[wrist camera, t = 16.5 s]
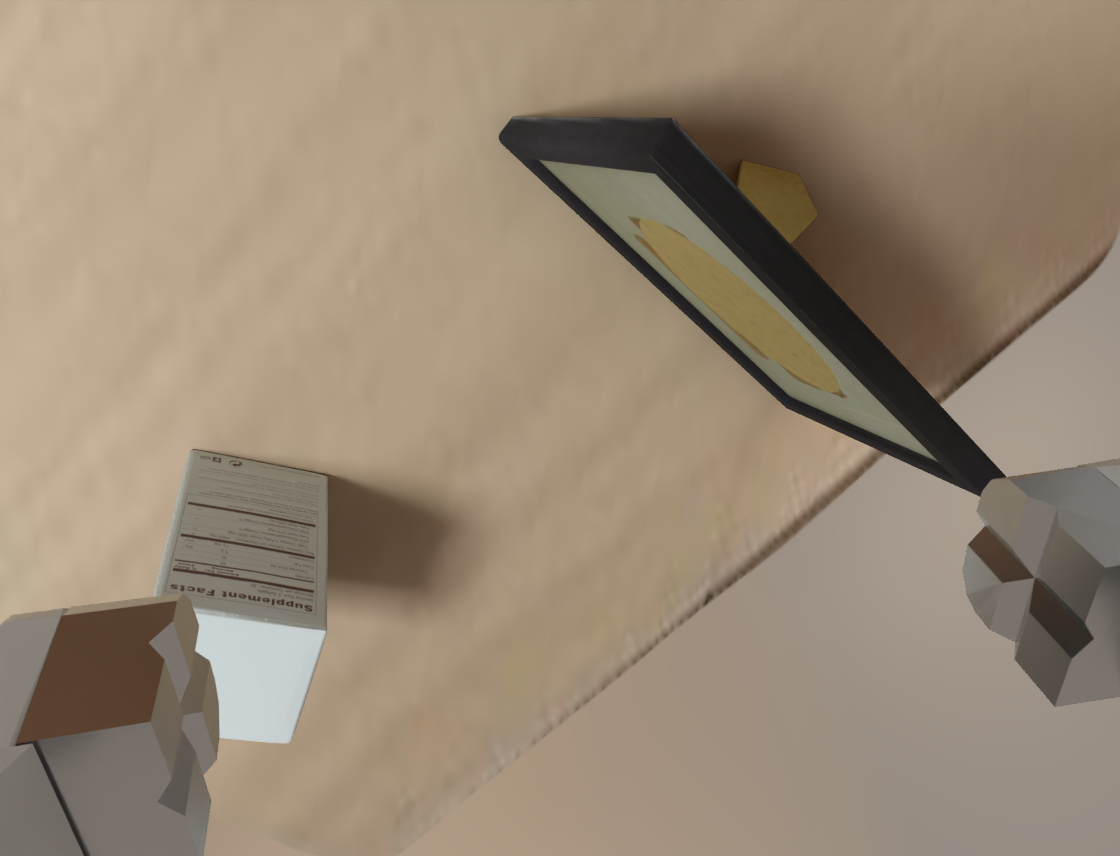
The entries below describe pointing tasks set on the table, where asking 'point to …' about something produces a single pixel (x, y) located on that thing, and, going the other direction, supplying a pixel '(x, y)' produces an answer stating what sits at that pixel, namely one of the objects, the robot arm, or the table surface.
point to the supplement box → (252, 585)
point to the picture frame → (744, 278)
